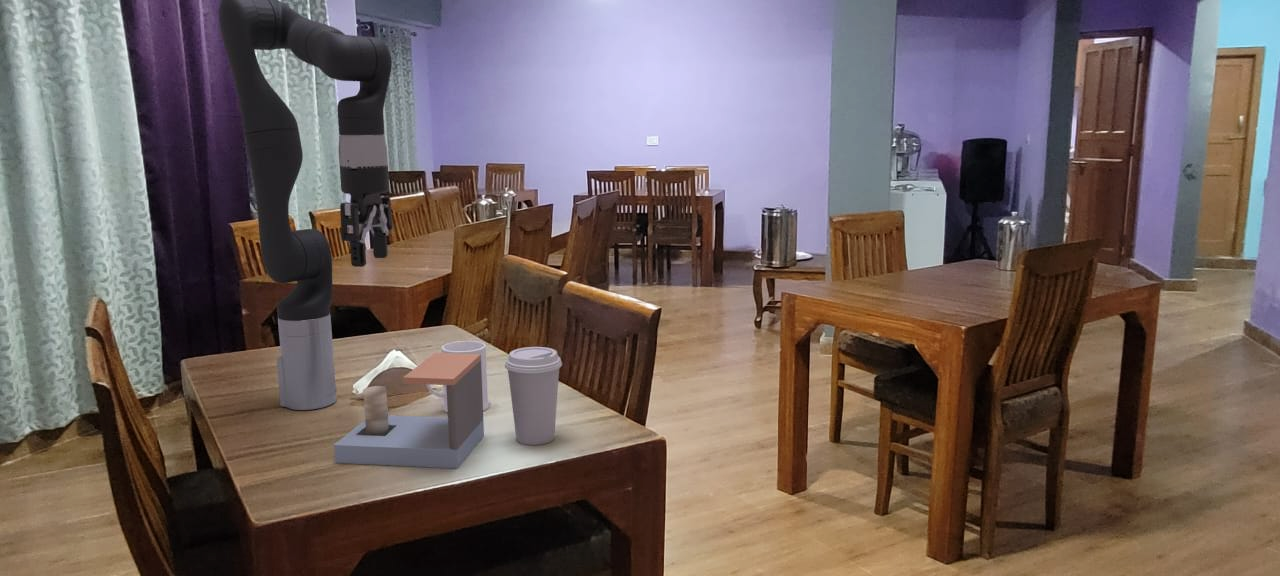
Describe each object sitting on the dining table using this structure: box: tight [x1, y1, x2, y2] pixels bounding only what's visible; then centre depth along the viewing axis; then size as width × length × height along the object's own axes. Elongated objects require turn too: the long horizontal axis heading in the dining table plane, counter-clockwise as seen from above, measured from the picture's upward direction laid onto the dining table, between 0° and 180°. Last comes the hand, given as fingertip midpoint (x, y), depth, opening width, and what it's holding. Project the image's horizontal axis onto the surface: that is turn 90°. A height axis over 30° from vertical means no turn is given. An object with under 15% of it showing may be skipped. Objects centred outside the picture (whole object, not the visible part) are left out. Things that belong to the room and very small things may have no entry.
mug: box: [425, 340, 490, 414], centre depth 157 cm, size 12×8×12 cm
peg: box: [362, 385, 389, 436], centre depth 139 cm, size 4×4×10 cm
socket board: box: [333, 352, 485, 469], centre depth 138 cm, size 20×14×14 cm
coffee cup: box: [504, 346, 563, 446], centre depth 142 cm, size 10×10×15 cm
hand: (370, 261), depth 140 cm, fingers open, 8 cm apart
